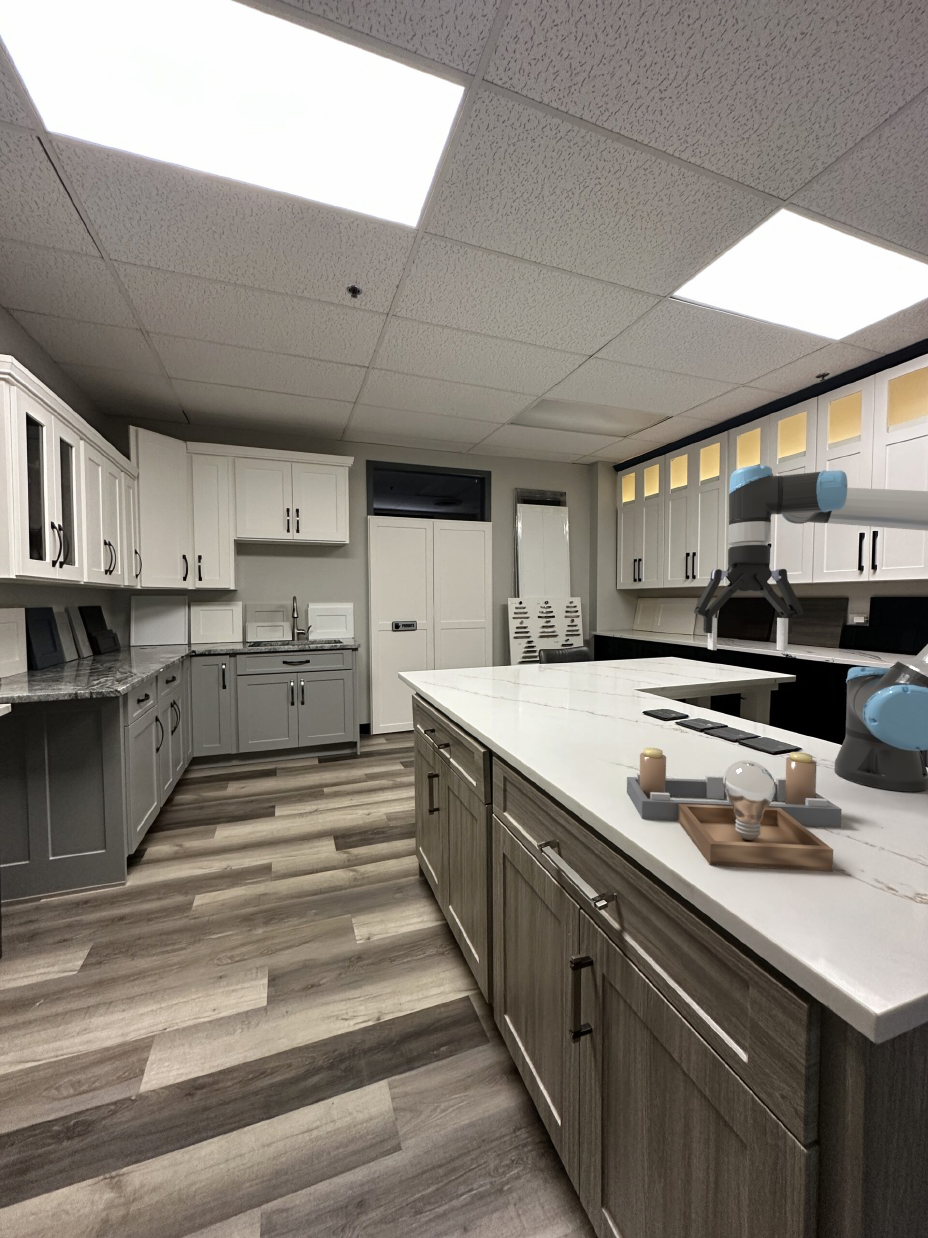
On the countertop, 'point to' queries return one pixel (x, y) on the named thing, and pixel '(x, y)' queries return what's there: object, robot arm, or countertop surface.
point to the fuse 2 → (800, 778)
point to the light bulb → (749, 795)
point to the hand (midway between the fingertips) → (746, 650)
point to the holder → (666, 809)
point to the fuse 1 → (652, 771)
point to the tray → (773, 848)
